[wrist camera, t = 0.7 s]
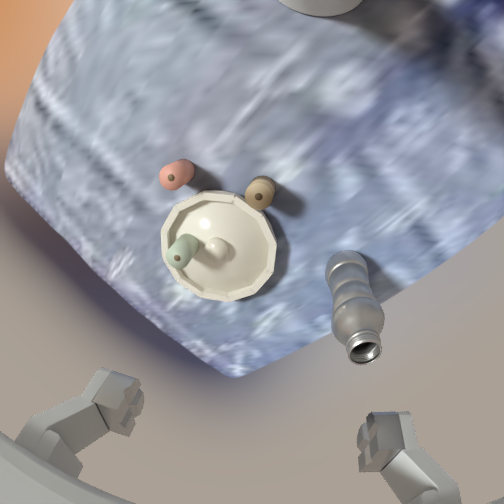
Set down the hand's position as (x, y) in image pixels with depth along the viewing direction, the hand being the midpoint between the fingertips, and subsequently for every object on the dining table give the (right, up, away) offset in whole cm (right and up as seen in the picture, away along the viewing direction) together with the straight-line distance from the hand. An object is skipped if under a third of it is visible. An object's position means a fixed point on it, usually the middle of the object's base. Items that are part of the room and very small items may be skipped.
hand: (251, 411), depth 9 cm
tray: (-5, +6, +39) cm, 40 cm away
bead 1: (-10, +18, +35) cm, 40 cm away
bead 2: (-10, +7, +39) cm, 41 cm away
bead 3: (+2, +15, +34) cm, 37 cm away
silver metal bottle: (+15, +4, +38) cm, 41 cm away
